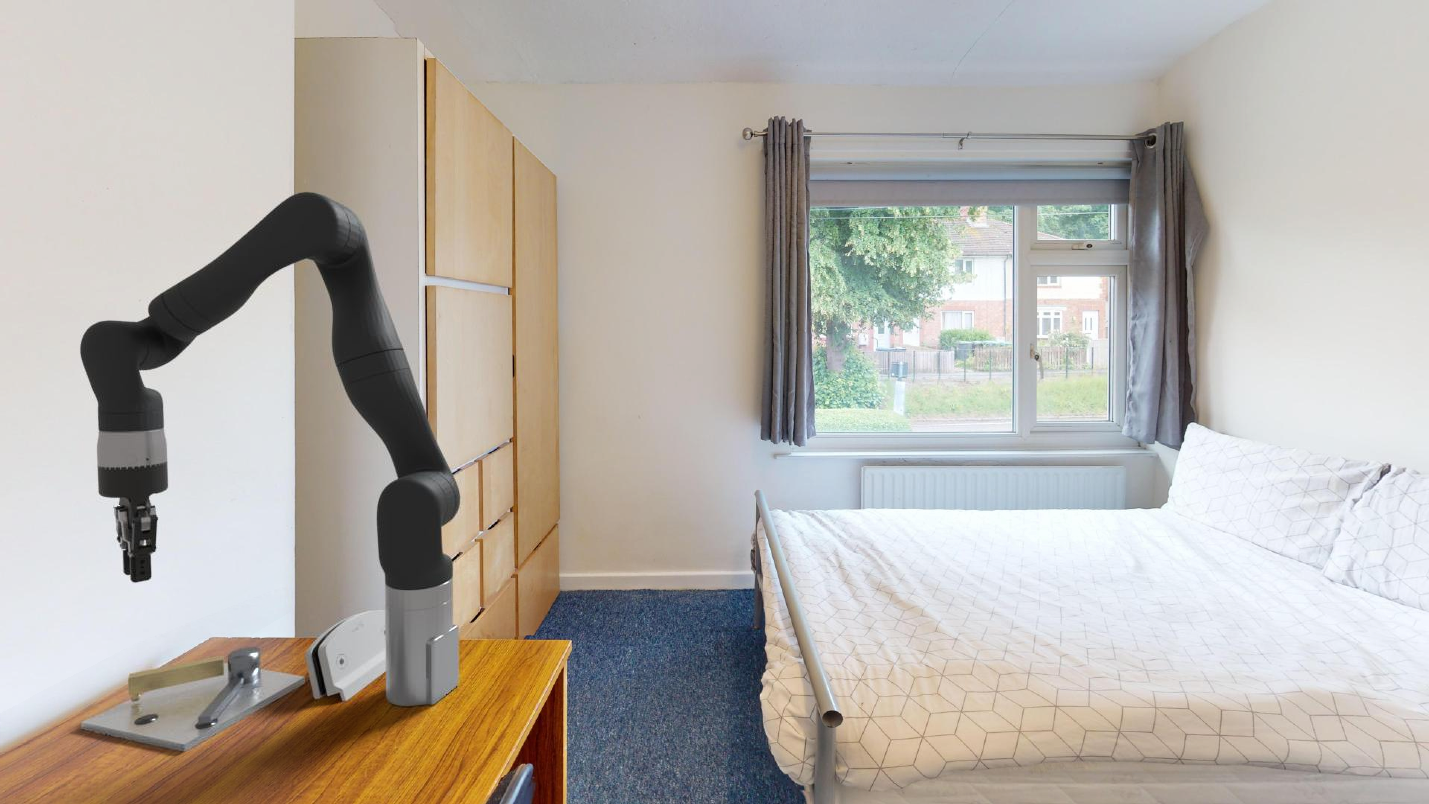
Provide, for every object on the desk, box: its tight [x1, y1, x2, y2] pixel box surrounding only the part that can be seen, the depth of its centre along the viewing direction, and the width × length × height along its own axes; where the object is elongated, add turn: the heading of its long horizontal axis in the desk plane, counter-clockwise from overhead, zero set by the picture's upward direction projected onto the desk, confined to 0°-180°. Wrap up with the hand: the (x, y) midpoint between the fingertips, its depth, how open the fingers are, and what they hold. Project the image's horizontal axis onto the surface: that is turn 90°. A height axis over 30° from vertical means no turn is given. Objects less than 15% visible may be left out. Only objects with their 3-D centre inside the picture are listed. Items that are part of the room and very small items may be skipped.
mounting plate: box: [80, 646, 306, 753], centre depth 93 cm, size 18×18×5 cm
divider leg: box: [127, 654, 225, 702], centre depth 94 cm, size 10×2×4 cm, turn 126°
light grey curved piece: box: [304, 609, 386, 702], centre depth 103 cm, size 17×5×10 cm, turn 172°
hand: (137, 576), depth 95 cm, fingers open, 4 cm apart
